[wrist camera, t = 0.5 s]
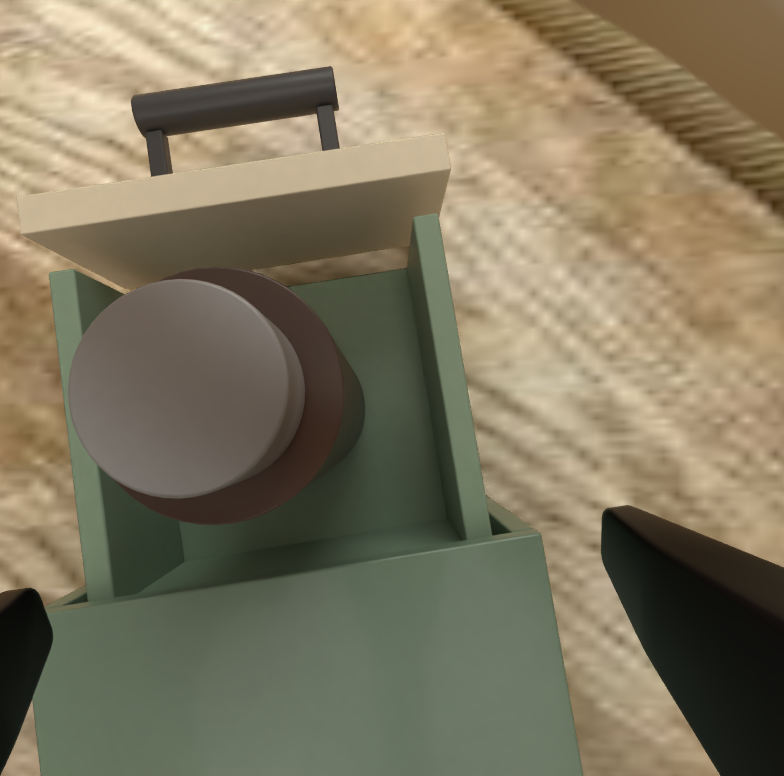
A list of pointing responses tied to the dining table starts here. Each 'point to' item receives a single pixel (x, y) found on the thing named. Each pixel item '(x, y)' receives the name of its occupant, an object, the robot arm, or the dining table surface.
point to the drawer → (327, 298)
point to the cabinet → (319, 670)
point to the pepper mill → (213, 395)
